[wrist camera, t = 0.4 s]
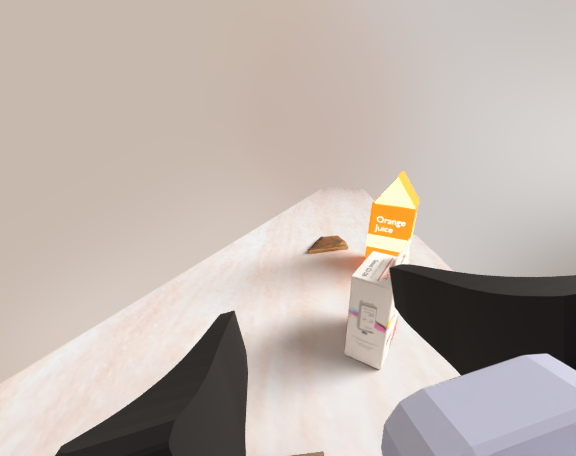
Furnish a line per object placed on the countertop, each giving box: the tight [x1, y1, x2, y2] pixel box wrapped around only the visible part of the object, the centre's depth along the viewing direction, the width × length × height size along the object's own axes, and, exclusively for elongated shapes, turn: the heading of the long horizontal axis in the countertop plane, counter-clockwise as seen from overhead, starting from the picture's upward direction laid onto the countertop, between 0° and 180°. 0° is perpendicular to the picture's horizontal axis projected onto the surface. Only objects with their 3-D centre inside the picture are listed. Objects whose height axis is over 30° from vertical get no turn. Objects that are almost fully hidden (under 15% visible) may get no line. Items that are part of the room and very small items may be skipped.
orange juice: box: [365, 171, 419, 260], centre depth 53 cm, size 8×9×20 cm
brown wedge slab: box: [308, 236, 348, 254], centre depth 67 cm, size 11×8×2 cm
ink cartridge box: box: [344, 238, 410, 369], centre depth 34 cm, size 9×5×15 cm, turn 147°
